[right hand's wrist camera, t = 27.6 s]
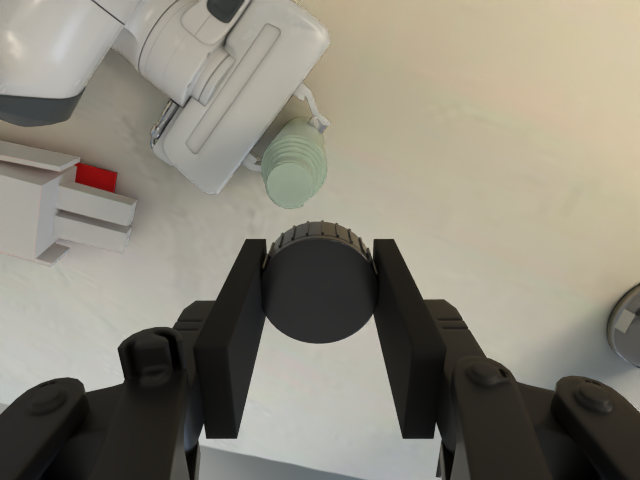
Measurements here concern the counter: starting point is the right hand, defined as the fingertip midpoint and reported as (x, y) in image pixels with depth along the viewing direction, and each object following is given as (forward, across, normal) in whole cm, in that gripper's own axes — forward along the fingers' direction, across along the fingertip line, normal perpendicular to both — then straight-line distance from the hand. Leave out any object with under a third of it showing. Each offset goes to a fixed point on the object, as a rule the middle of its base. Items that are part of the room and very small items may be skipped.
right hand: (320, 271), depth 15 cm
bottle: (+34, +2, -1) cm, 34 cm away
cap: (-1, 0, 0) cm, 1 cm away
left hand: (+27, +1, 0) cm, 27 cm away
